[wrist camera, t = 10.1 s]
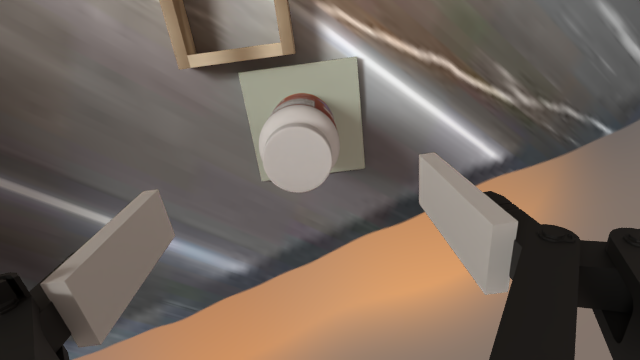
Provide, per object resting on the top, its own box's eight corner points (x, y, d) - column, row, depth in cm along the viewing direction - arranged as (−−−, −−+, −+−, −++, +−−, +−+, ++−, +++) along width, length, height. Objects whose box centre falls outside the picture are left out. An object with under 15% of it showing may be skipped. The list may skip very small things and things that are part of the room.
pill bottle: (335, 151, 32) (345, 200, 22) (275, 155, 32) (258, 206, 22) (332, 89, 30) (342, 111, 19) (267, 93, 30) (243, 118, 19)
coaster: (262, 179, 34) (261, 181, 33) (239, 72, 29) (238, 72, 29) (364, 166, 33) (365, 168, 33) (355, 56, 29) (356, 56, 29)
